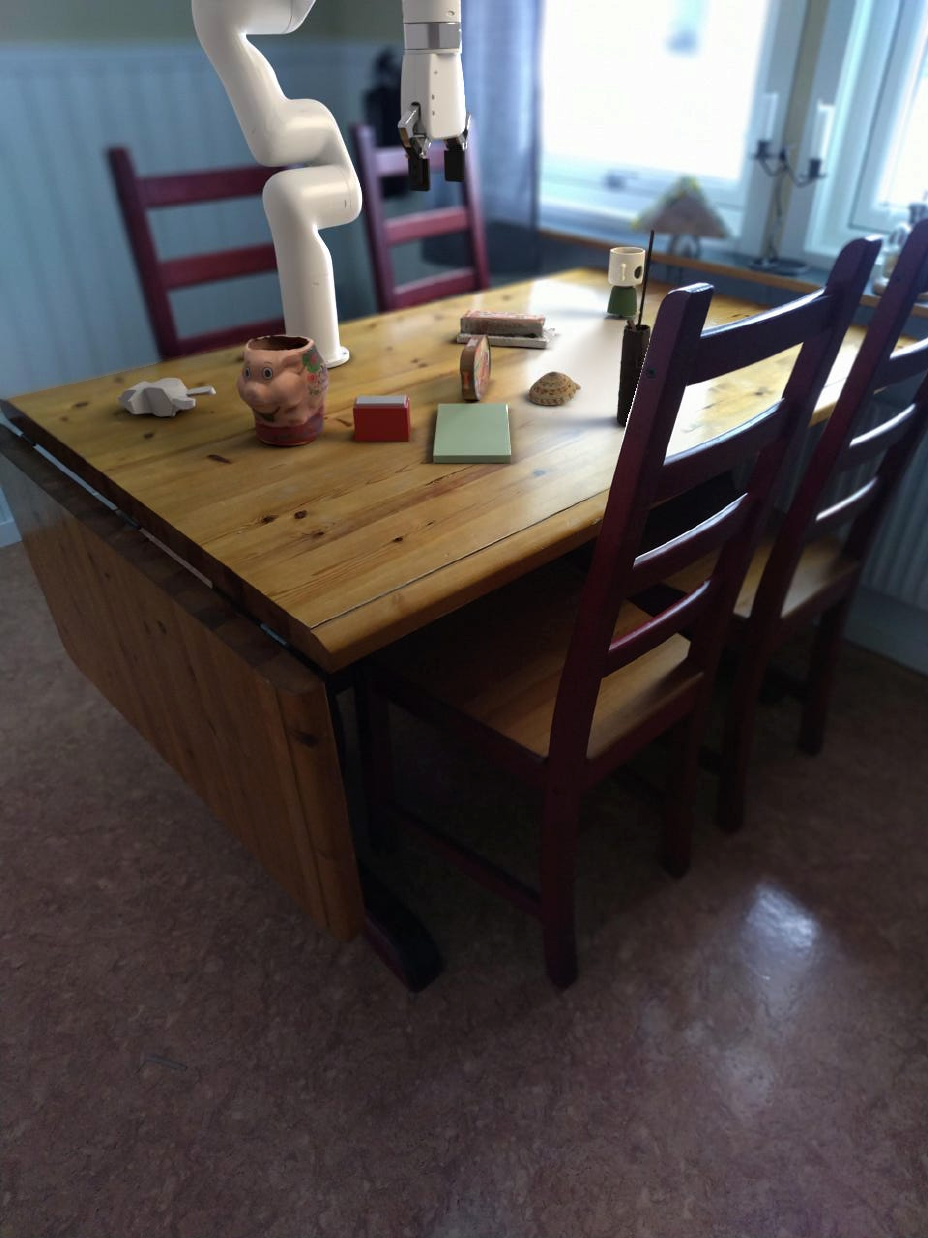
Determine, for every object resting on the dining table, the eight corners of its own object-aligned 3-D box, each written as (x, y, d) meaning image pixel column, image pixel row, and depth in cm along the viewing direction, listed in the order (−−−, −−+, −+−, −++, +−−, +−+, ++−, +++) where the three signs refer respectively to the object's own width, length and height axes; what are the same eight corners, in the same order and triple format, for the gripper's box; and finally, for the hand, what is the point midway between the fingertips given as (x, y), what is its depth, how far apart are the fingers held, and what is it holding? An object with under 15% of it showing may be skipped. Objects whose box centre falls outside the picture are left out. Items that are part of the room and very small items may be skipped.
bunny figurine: (139, 373, 141) (215, 371, 136) (149, 403, 144) (224, 402, 139) (102, 392, 134) (181, 391, 129) (113, 424, 136) (191, 424, 131)
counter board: (433, 463, 120) (433, 455, 120) (438, 410, 137) (438, 403, 136) (510, 462, 120) (510, 454, 120) (506, 410, 137) (506, 403, 136)
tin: (476, 407, 138) (476, 355, 133) (457, 406, 138) (456, 354, 134) (492, 376, 150) (493, 328, 145) (475, 375, 150) (475, 327, 146)
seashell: (592, 381, 141) (566, 374, 135) (582, 415, 142) (556, 409, 136) (552, 370, 145) (526, 363, 139) (543, 403, 147) (516, 397, 141)
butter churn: (595, 408, 137) (610, 219, 121) (654, 408, 137) (677, 219, 121) (601, 430, 129) (617, 232, 113) (663, 430, 129) (689, 231, 113)
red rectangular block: (408, 441, 127) (406, 404, 124) (355, 441, 127) (352, 404, 124) (410, 429, 130) (408, 393, 127) (358, 430, 131) (355, 394, 127)
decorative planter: (280, 405, 140) (268, 318, 132) (351, 409, 138) (343, 322, 130) (229, 454, 124) (212, 359, 116) (309, 460, 122) (297, 364, 114)
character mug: (633, 323, 175) (640, 257, 168) (599, 321, 177) (605, 254, 170) (642, 310, 184) (649, 245, 176) (610, 307, 186) (615, 243, 178)
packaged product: (455, 318, 163) (468, 304, 171) (455, 343, 166) (468, 329, 174) (548, 323, 159) (556, 309, 167) (547, 349, 162) (555, 334, 170)
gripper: (441, 40, 119) (445, 176, 129) (371, 42, 107) (382, 193, 116) (488, 39, 116) (489, 179, 125) (422, 40, 103) (429, 196, 113)
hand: (438, 185), depth 121 cm, fingers open, 9 cm apart
